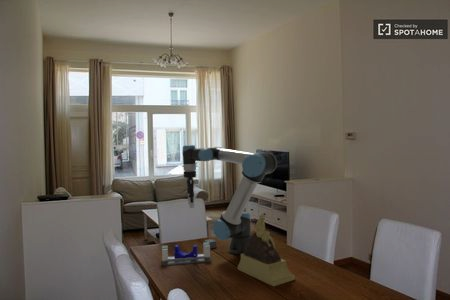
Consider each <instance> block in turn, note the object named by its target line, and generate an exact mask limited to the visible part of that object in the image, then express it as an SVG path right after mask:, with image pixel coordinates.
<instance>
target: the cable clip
mask: <svg viewBox="0 0 450 300" xmlns="http://www.w3.org/2000/svg"><path fill="white" fill-rule="evenodd" d="M198 254H199V253H198V244H193V247H192V250H191V251H189V252H184V251H182V249H181V248H180V245H179V244H176V245H175V246H174V253H173V255H174V258H186V257H197V256H198Z"/></svg>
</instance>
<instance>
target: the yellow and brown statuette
mask: <svg viewBox="0 0 450 300" xmlns="http://www.w3.org/2000/svg"><path fill="white" fill-rule="evenodd" d="M265 218H266V215H264V214H260V215H259V218H258V220H257V221H256V223H255V232H254V233H252V234H251V237H250V239H249V241H248V242H247V244H246V246H245V251H244V253H243V254H240V260H239V263H238V265H237V270H238V271H240V272H243V273H245V274H247V275H249V276H251V277H253V278H255V279H257V280H259V281H261V282H263V283H266V284H268V285H269V286H272V287H276V286H279V285H283V284H285V283H288V282H292V281H294V280H295V279H296V278H295V277H296V275H295V274H293V273H292V272H291V271H290V270H289V268H288V266H287V260H285V259H283V258H281V256H280V254H279V252H277V249H276V244H275V241H274V238H273V237H272V236H271V235H270V231H267V230H266V224H265Z"/></svg>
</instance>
